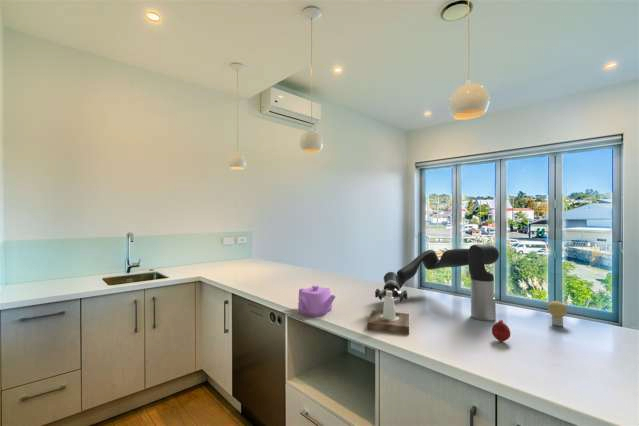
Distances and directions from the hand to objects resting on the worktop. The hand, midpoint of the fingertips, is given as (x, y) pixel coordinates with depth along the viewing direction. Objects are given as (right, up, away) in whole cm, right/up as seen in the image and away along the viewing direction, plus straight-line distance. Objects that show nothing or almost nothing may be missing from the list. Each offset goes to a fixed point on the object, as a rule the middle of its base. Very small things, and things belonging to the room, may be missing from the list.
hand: (390, 298), depth 125 cm
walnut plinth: (-2, -10, -4) cm, 11 cm away
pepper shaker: (-2, -7, -4) cm, 8 cm away
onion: (+35, -10, -21) cm, 42 cm away
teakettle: (-33, -11, +13) cm, 37 cm away
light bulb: (+70, -10, -4) cm, 70 cm away
